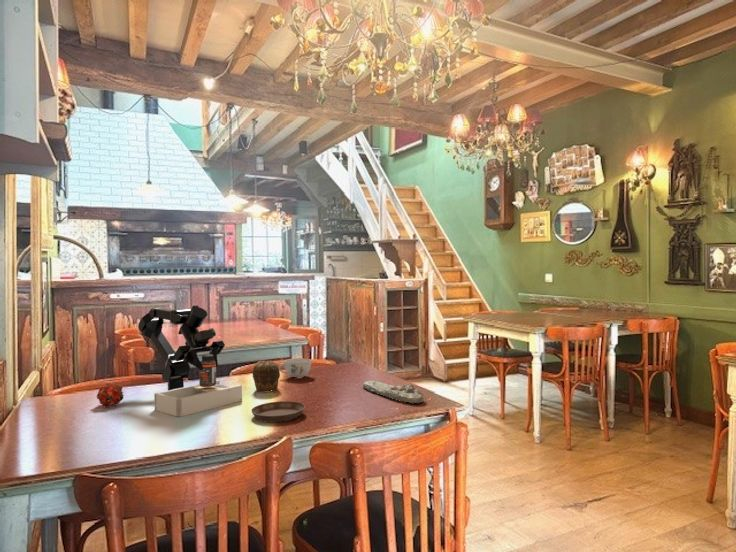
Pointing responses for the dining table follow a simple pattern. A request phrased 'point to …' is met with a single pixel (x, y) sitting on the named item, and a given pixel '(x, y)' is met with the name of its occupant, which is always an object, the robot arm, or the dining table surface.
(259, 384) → the brown ridged rounded piece
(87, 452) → the dining table surface
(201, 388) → the trapdoor
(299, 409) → the plant saucer
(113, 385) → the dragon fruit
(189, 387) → the frame
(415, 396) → the long grey stone
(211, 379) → the supplement bottle
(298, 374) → the teacup
